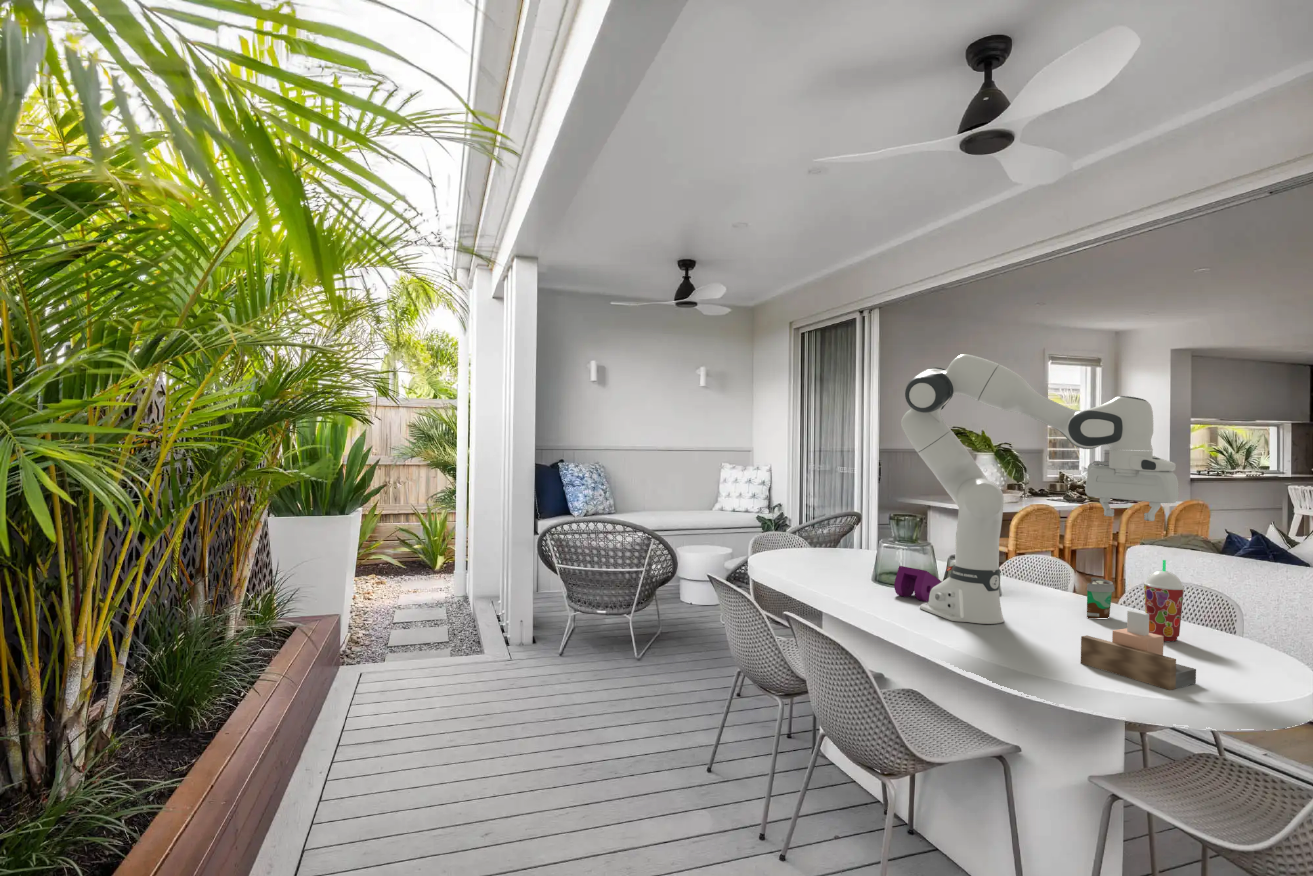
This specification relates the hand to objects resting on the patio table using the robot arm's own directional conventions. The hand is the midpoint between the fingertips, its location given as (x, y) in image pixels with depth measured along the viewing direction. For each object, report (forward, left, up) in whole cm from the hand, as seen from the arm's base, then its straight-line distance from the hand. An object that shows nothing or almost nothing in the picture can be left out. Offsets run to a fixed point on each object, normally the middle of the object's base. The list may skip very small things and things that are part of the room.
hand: (1128, 518), depth 172 cm
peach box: (+14, -21, -28) cm, 38 cm away
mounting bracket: (-57, -5, -31) cm, 66 cm away
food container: (-19, +22, -31) cm, 43 cm away
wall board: (+14, -21, -31) cm, 40 cm away
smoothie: (+1, +14, -31) cm, 34 cm away
